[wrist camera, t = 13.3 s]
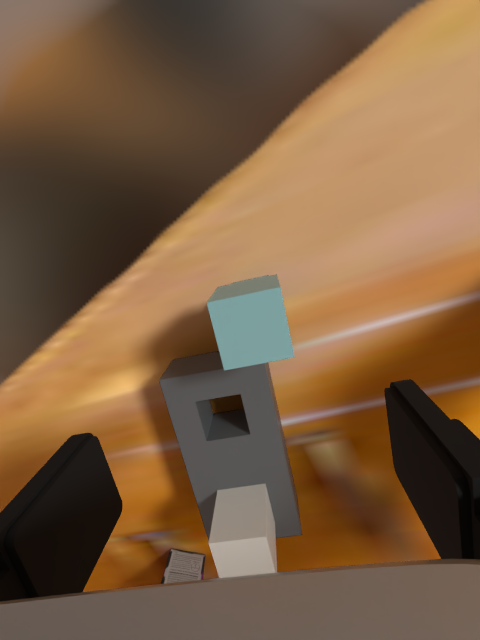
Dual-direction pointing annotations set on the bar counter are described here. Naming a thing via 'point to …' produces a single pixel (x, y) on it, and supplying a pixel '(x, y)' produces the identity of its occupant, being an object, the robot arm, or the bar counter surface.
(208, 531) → the block
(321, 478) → the bar counter surface
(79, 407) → the bar counter surface
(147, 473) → the bar counter surface
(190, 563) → the candy bar box
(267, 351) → the teal plug
